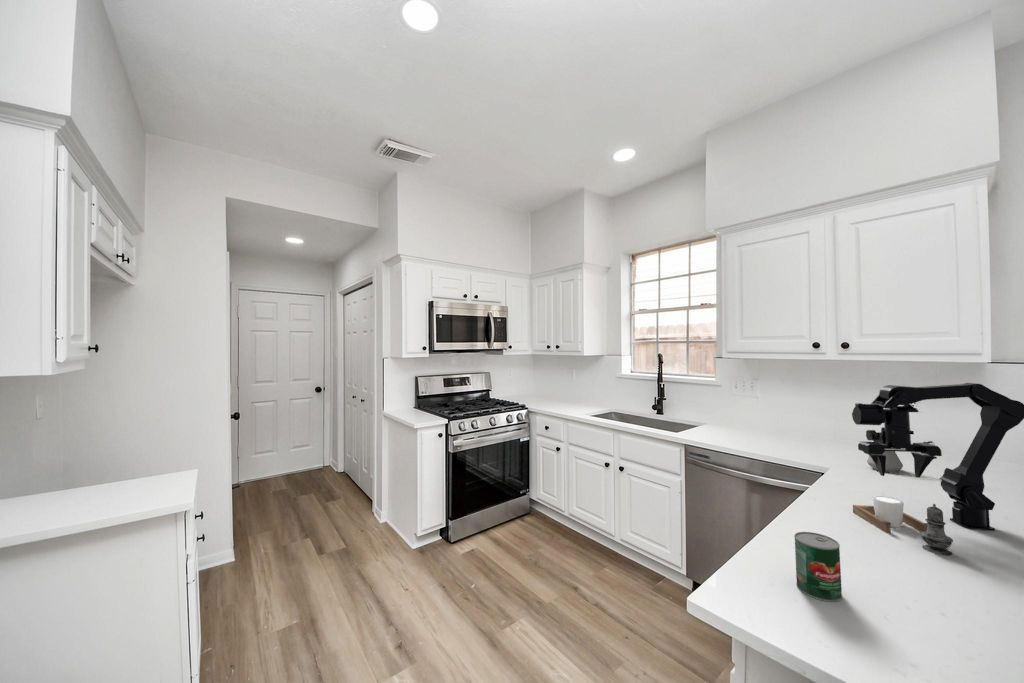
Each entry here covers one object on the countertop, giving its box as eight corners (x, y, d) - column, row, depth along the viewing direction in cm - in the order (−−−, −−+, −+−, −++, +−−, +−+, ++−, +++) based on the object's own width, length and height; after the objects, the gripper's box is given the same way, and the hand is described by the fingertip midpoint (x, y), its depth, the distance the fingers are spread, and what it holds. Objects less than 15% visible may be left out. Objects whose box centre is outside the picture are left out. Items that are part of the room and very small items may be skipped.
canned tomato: (828, 606, 80) (825, 551, 80) (788, 585, 87) (786, 535, 88) (850, 595, 83) (847, 543, 84) (809, 577, 90) (807, 529, 91)
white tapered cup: (896, 519, 120) (895, 496, 120) (910, 529, 114) (909, 504, 114) (868, 517, 122) (867, 494, 123) (881, 526, 116) (879, 502, 116)
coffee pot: (863, 469, 172) (861, 434, 172) (872, 464, 178) (870, 431, 179) (933, 481, 154) (930, 443, 154) (940, 476, 160) (938, 439, 161)
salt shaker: (948, 558, 97) (945, 509, 98) (916, 548, 103) (913, 502, 103) (958, 552, 100) (955, 505, 100) (926, 543, 105) (923, 498, 106)
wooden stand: (893, 514, 124) (893, 504, 124) (933, 536, 109) (932, 525, 109) (852, 512, 126) (852, 502, 126) (886, 533, 111) (885, 522, 111)
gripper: (912, 422, 128) (915, 470, 127) (846, 421, 132) (848, 467, 131) (941, 428, 117) (944, 481, 116) (868, 427, 121) (871, 478, 120)
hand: (899, 476), depth 121 cm, fingers open, 9 cm apart
